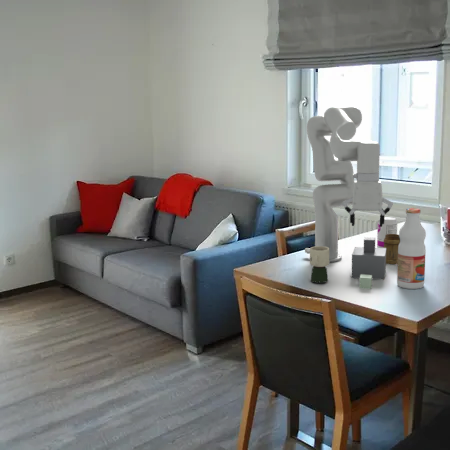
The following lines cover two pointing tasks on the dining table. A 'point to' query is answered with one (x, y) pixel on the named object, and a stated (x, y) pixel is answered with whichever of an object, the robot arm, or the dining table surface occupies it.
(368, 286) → the block
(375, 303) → the dining table surface
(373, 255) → the cover
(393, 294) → the dining table surface
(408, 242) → the fruit juice
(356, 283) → the dining table surface
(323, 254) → the character mug
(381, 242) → the supplement can
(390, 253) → the wooden mug
